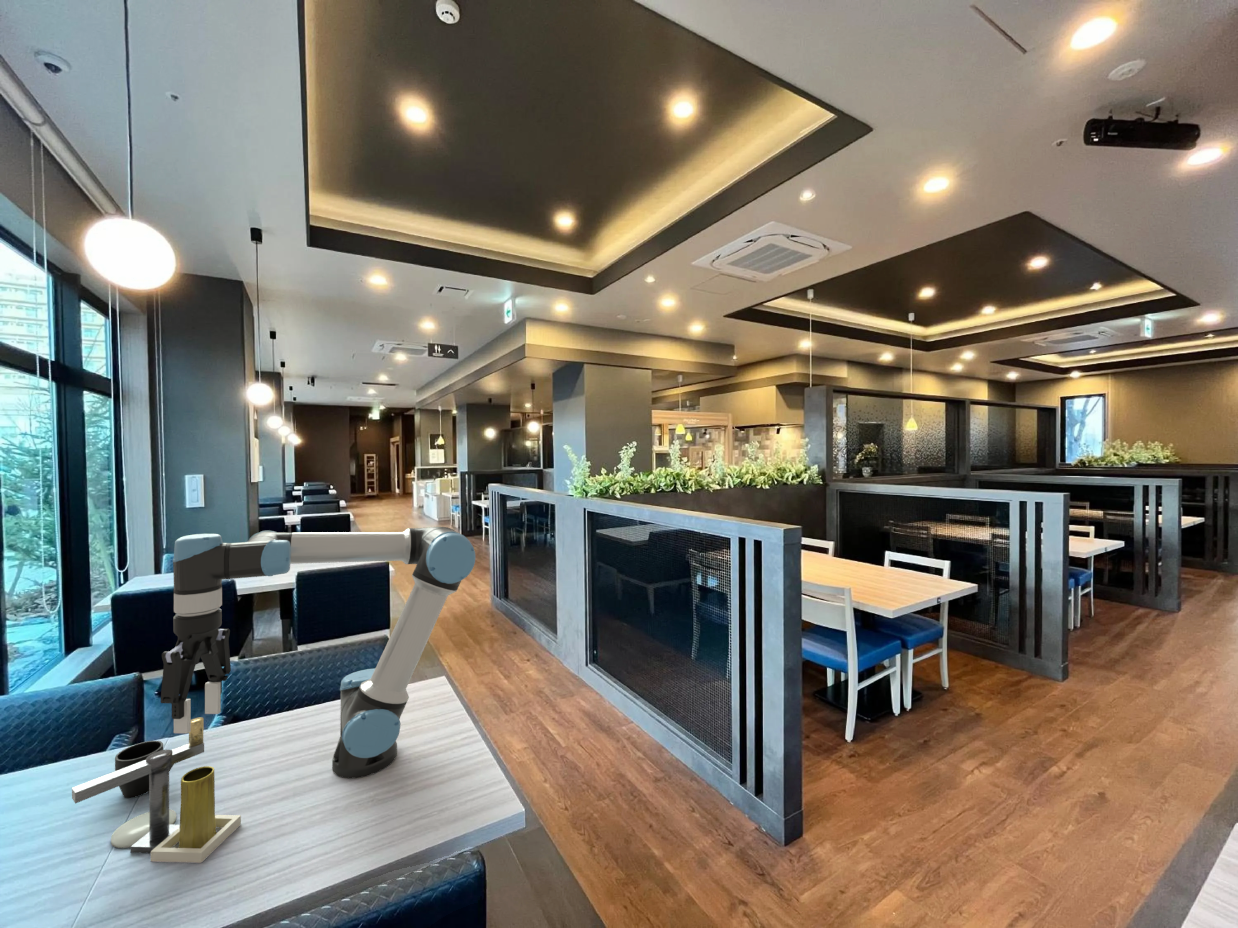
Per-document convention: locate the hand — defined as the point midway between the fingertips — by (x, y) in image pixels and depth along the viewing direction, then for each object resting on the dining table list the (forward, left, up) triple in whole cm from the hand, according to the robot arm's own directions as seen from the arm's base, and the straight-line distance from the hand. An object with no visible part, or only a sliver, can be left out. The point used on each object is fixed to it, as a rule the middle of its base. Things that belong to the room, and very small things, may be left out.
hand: (198, 721), depth 101 cm
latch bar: (+9, +2, -9) cm, 13 cm away
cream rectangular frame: (0, 0, -25) cm, 25 cm away
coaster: (+14, -3, -25) cm, 29 cm away
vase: (0, 0, -25) cm, 25 cm away
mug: (+25, -15, -25) cm, 39 cm away
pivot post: (+8, 0, -25) cm, 26 cm away
